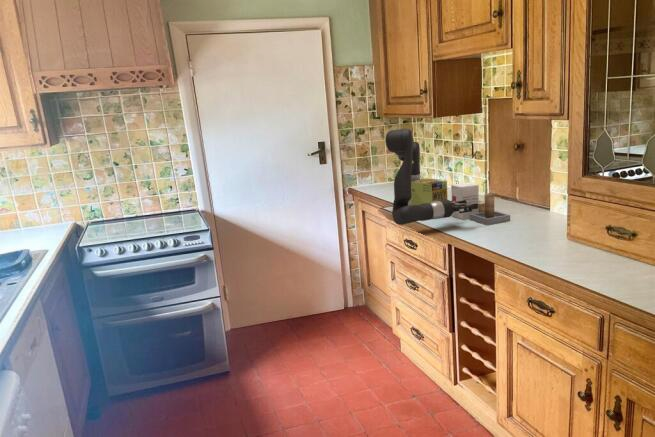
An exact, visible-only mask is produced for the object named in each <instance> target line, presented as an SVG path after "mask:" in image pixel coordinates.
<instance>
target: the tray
mask: <svg viewBox="0 0 655 437" xmlns="http://www.w3.org/2000/svg"><path fill="white" fill-rule="evenodd" d="M469 220H470V221H473V222H476V223H479V224H482V225H485V226H489V225H490V226H491V225H497V224H501V222H502V223H507V222H510V221H511V214H508V213H505V212H501V211H497V210H494V217H493V218H485V212H480V213H474V214H470V218H469ZM506 221H507V222H506Z"/></svg>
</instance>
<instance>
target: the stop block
mask: <svg viewBox="0 0 655 437" xmlns="http://www.w3.org/2000/svg"><path fill="white" fill-rule="evenodd" d="M480 212H485V201H482V200H479V213H480Z"/></svg>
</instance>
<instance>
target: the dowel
mask: <svg viewBox="0 0 655 437" xmlns="http://www.w3.org/2000/svg"><path fill="white" fill-rule="evenodd" d="M484 202H485V218H493V217H494V211H495V194H494V193H484Z"/></svg>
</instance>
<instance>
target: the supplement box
mask: <svg viewBox="0 0 655 437" xmlns="http://www.w3.org/2000/svg"><path fill="white" fill-rule="evenodd" d="M450 189H451V201H452V200H454V201H463V200H466V204H475V203H477V204H478V209H473V210H472V212H465V213H459V212H458V213H455V212H453V214H452V215H451V217H454V218H457V219H460V220H462V221H463V220H468V219H469V220H470V214H474V213H479V201H480V200H479V195H480V194H479V189H480V188H479V184H477V183H473V182H468V181H465V182H459V183H452V184H451V188H450ZM467 209H468V208H467Z"/></svg>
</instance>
